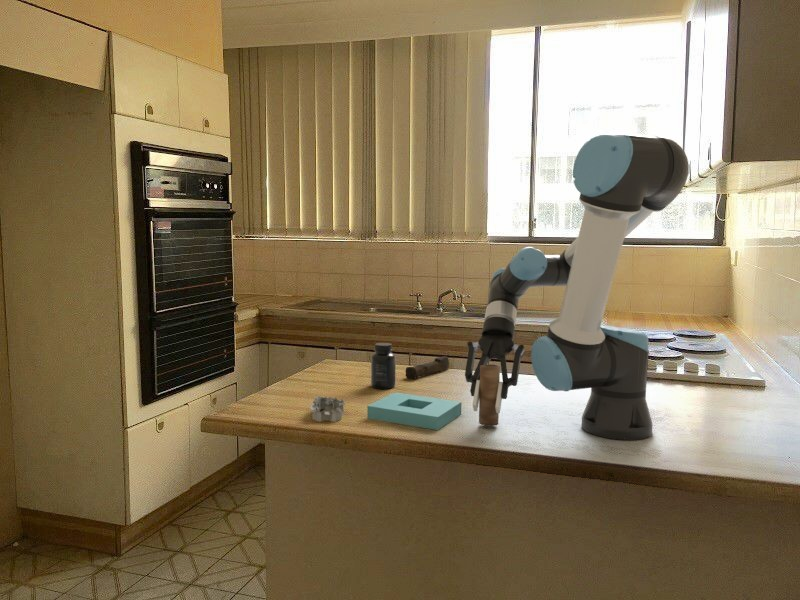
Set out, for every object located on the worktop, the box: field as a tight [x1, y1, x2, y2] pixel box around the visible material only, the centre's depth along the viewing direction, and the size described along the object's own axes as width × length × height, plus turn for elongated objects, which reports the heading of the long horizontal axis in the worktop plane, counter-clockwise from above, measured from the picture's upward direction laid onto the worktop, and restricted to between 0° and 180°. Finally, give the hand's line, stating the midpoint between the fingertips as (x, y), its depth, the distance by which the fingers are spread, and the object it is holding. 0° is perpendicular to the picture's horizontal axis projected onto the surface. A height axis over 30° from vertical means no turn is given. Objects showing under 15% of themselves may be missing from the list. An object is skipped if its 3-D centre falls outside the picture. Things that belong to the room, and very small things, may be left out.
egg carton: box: [309, 395, 345, 423], centre depth 158 cm, size 11×8×4 cm
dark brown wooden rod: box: [405, 355, 450, 380], centre depth 200 cm, size 19×4×5 cm, turn 137°
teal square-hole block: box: [366, 391, 463, 431], centre depth 158 cm, size 18×14×3 cm
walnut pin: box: [478, 364, 501, 427], centre depth 150 cm, size 4×4×13 cm
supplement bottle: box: [370, 342, 397, 390], centre depth 185 cm, size 7×7×12 cm
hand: (486, 409), depth 146 cm, fingers closed on walnut pin, 4 cm apart
